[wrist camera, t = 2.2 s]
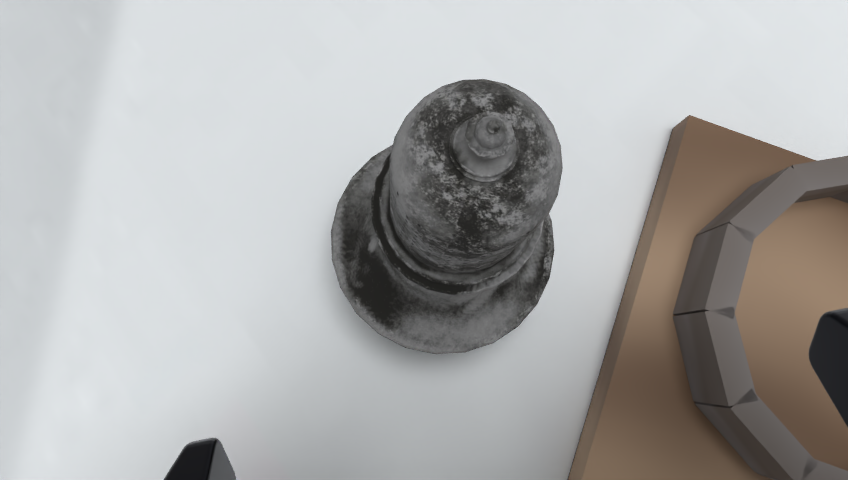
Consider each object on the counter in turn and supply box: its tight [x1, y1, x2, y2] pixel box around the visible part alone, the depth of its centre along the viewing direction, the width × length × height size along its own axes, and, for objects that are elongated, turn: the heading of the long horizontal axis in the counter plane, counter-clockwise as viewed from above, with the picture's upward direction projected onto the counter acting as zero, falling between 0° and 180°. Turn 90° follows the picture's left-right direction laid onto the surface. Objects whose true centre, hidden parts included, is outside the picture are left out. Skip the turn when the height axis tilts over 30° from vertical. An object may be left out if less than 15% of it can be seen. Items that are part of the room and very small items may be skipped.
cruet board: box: [568, 115, 848, 480], centre depth 18 cm, size 18×14×3 cm
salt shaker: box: [331, 79, 562, 354], centre depth 14 cm, size 6×6×12 cm
